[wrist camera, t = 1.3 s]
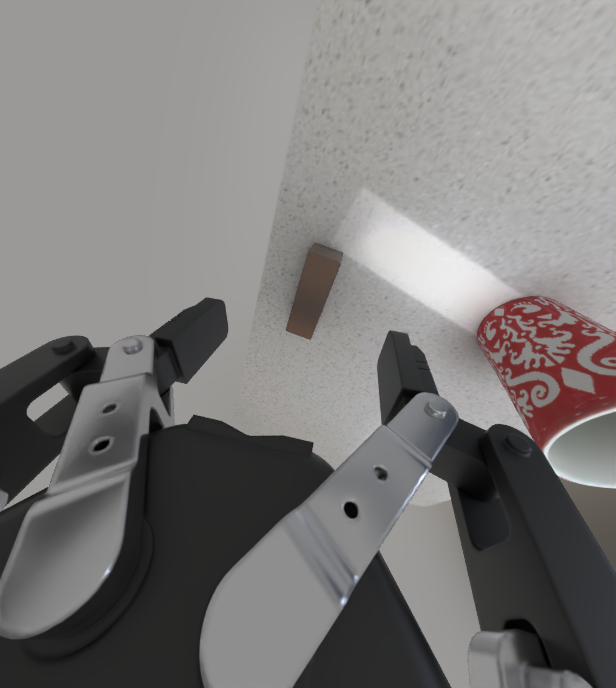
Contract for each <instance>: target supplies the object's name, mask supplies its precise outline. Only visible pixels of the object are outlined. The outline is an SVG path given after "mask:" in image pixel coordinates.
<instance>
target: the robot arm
mask: <svg viewBox="0 0 616 688" xmlns="http://www.w3.org/2000/svg"><path fill="white" fill-rule="evenodd" d="M227 333H228V323H227V315H226V308H225V304H224V302H223V301H222V300H219V299H213V298H205V299H203V300H202V301H201V302H199V303H198V304H197V305H195V306H192V307H190V308H188V309H185V310H183V311H182V312H181V313H179V314H178V315H177V316H175V317H174V318H172V319H171V321H168V322H167V323H165V324H164V325H163V326H161V327H160V328H159V329H157V330H156V331H155V332H153V333H152V334H150V335H149V336H145V335H137V336H130V337H126V338H124V339H121V340H119V341H117V342H116V343H114V344H113V345H112V346H111V347H100V348H99V347H97V348H93V346H92V345H91V343H90V342H89V340H88V338H86V337H84V336H67V337H62V338H59V339H56V340H53V341H50V342H48V343H46V344H45V345H43V346H41V347H39V348H37V349H35V350H34V351H32V352H30V353H28V354H27V355H25V356H23V357H21V358H19V359H17V360H16V361H14V362H12V363H10V364H9V365H7V366H5V367H3V368H1V369H0V688H451V686H450V684H449V682H448V680H447V679H446V677H445V675H444V673H443V671H442V669H441V667H440V665H439V663H438V661H437V659H436V658H435V656H434V654H433V652H432V650H431V648H430V646H429V644H428V642H427V641H426V638H425V637H424V635H423V633H422V631H421V629H420V627H419V625H418V623H417V621H416V620H415V618H414V616H413V614H412V612H411V610H410V608H409V606H408V604H407V602H406V600H405V599H404V597H403V595H402V593H401V591H400V589H399V587H398V585H397V583H396V581H395V580H394V578H393V576H392V574H391V572H390V570H389V568H388V566H387V564H386V562H385V561H384V559H383V557H382V555H381V553H380V551H379V548H380V547H381V545H382V544H383V542H384V540H385V539H386V537H387V536H388V534H389V533H390V531H391V530H392V528H393V527H394V525H395V523H396V522H397V520H398V519H399V517H400V516H401V514H402V513H403V511H404V509H405V508H406V506H407V505H408V503H409V502H410V500H411V499H412V497H413V496H414V494H415V493H416V491H417V489H418V488H419V486H420V485H421V483H422V482H423V480H424V479H425V477H426V476H427V474H428V472H430V473H432V474H434V475H436V476H437V477H439V478H441V479H443V480H445V481H446V482H447V483H448V487H449V492H450V496H451V501H452V505H453V509H454V514H455V518H456V523H457V527H458V531H459V536H460V540H461V545H462V549H463V554H464V558H465V562H466V566H467V571H468V576H469V580H470V584H471V589H472V593H473V598H474V602H475V606H476V611H477V616H478V620H479V624H480V628H481V631H480V632H478V633H476V634H475V635H474V636H473V637H472V639H471V641H470V644H469V648H468V670H469V688H616V572H615V570H614V569H613V567H612V565H611V564H610V562H609V560H608V559H607V557H606V555H605V554H604V552H603V551H602V549H601V547H600V545H599V544H598V542H597V541H596V539H595V537H594V536H593V534H592V532H591V531H590V529H589V527H588V526H587V524H586V522H585V521H584V519H583V517H582V516H581V514H580V513H579V511H578V509H577V507H576V506H575V504H574V503H573V501H572V499H571V498H570V496H569V494H568V493H567V491H566V489H565V488H564V486H563V484H562V483H561V481H560V480H559V478H558V476H557V474H556V473H555V471H554V469H553V468H552V466H551V465H550V463H549V461H548V460H547V458H546V456H545V455H544V453H543V451H542V450H541V449H540V447H539V446H538V445H537V444H536V443H535V442H534V441H533V440H532V439H531V438H529V437H528V436H527V435H525V434H524V433H522V432H521V431H519V430H517V429H515V428H513V427H511V426H507V425H503V424H495V425H492V426H491V427H490V428H489V429H488V430H487V431H486V430H484V429H481V428H479V427H477V426H475V425H473V424H470V423H468V422H466V421H464V420H462V419H460V418H459V416H458V413H457V411H456V409H455V408H454V407H453V406H452V405H451V404H450V403H449V402H448V401H447V400H445V399H444V398H442V397H440V396H439V394H438V391H437V388H436V385H435V382H434V380H433V377H432V374H431V372H430V369H429V366H428V364H427V360H426V357H425V355H424V353H423V352H422V351H421V350H420V349H419V348H418V347H417V346H413V345H411V344H410V340H409V337H408V334H407V333H402V332H397V331H391V330H390V331H389V332H388V334H387V337H386V340H385V342H384V345H383V348H382V350H381V353H380V356H379V359H378V365H377V372H378V384H379V396H380V409H381V421H382V425H381V426H380V427H379V428H378V429H377V430H376V431H375V432H374V433H373V434H372V435H371V436H370V437H369V438H368V439H367V440H366V441H365V442H364V443H363V444H361V445H360V446H359V447H358V448H357V449H356V450H355V451H354V452H353V453H352V454H351V455H350V456H349V457H348V458H347V459H346V460H345V461H344V462H343V463H342V464H341V465H340V466H339V467H338V468H337V469H336V470H334V469H333V468H332V467H331V465H329V464H328V463H327V462H326V461H325V460H324V459H322V458H321V457H319V456H318V455H316V454H314V453H313V452H312V448H313V442H309V441H304V440H300V439H296V438H292V437H287V436H283V435H282V436H249V435H246V434H244V433H242V432H240V431H239V430H237V429H235V428H233V427H232V426H230V425H228V424H226V423H224V422H222V421H219V420H215V419H210V418H205V417H201V416H197V415H193V417H192V418H191V419H190V421H189V422H188V424H181V425H175V423H174V397H173V388H172V384H173V383H174V382H175V381H176V382H181V383H185V384H187V383H188V382H189V381H190V379H191V378H192V377H193V376H194V374H196V372H197V371H198V370H199V369H200V368H201V367H202V365H203V364H204V363H205V362H206V361H207V360H208V358H209V357H210V356H211V355H212V354H213V352H214V351H215V350H216V349H217V348H218V347H219V346H220V344H221V343H222V342H223V341H224V340H225V338H226V337H227ZM57 383H60V384H61V385H62V386H63V388H64V389H65V390H66V391H67V392H68V394H69V395H67V396H66V397H65V398H63V399H62V400H61V401H60V402H58V403H57V404H56V405H54V406H53V407H52V408H51V409H49V410H48V411H47V412H46V413H44V414H43V415H42V416H40V417H39V418H38V419H37V420H35V421H34V422H33V421H32V420H31V419H30V418H29V417H28V416H27V408H28V406H29V405H30V403H31V402H32V401H33V400H35V399H36V398H38V397H39V396H40V395H42V394H43V393H45V392H46V391H47V390H49V389H50V388H52V387H53V386H54V385H56V384H57ZM59 454H60V456H59V459H58V462H57V465H56V467H55V470H54V473H53V476H52V479H51V482H50V485H49V487H47V488H45V489H43V490H41V491H39V492H38V493H36V494H34V495H32V496H30V497H28V498H26V499H24V500H23V501H20V502H18V503H16V504H15V505H13V506H11V507H9V508H7V509H5V510H3V508H4V507H5V506H6V505H7V504H8V503H9V502H10V501H11V500H12V499H13V498H14V497H15V496H17V494H18V493H20V492H21V491H22V490H23V489H24V488H25V487H26V486H27V485H28V484H29V483H30V482H31V481H32V480H33V479H34V478H35V477H36V476H37V475H38V474H39V473H40V472H41V471H42V470H43V469H44V468H45V467H46V466H48V465H49V463H51V462H52V461H53V460H54V459H55V458H56V457H57V456H58V455H59ZM2 510H3V511H2Z"/></svg>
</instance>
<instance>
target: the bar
mask: <svg viewBox="0 0 616 688" xmlns="http://www.w3.org/2000/svg"><path fill="white" fill-rule="evenodd" d="M342 256H343V253H341V252H339V251H336V250H333V249H331V248H328V247H325V246H323V245H320V244H317V243H315V244H314V245H313V246H312V248H311V249H310V251H309V252H308V255H307V259H306V262H305V266H304V269H303V273H302V276H301V279H300V283H299V286H298V290H297V293H296V297H295V300H294V303H293V307H292V310H291V314H290V317H289V321H288V324H287V327H286V331H288V332H290V333H293V334H296V335H299V336H301V337H304V338H307V339H310V340H311V338H312V335H313V333H314V330H315V328H316V325H317V323H318V320H319V317H320V315H321V312H322V310H323V307H324V305H325V302H326V300H327V297H328V295H329V292H330V289H331V287H332V284H333V282H334V279H335V277H336V274H337V272H338V269H339V267H340V264H341V260H342Z"/></svg>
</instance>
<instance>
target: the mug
mask: <svg viewBox="0 0 616 688" xmlns="http://www.w3.org/2000/svg"><path fill="white" fill-rule="evenodd" d="M477 333H478V335H477V337H478V342H479V345H480V347H481V349H482V350H483V352H484V354H485V355H486V357H487V359H488V360H489V362H490V364H491V365H492V367H493V369H494V371H495V372H496V374H497V376H498V378H499V379H500V381H501V383H502V385H503V387H504V388H505V390H506V392H507V394H508V395H509V397H510V399H511V401H512V402H513V404H514V406H515V408H516V410H517V412H518V413H519V415H520V417H521V419H522V421H523V423H524V424H525V426H526V428H527V429H528V431H529V433H530V435H531V436H532V438H533V440H534V442H535V443H536V444H537V445H538V446H539V447H540V449H541V450H542V451H543V453H544V455H545V456H546V458H547V460H548V461H549V463H550V465H551V466H552V468H553V469H554V471H555V473H556V474H557V476H559V477H561V478H563V479H566V480H569V481H572V482H575V483H579V484H584V485H589V486H595V487H604V488H616V332H615V331H612V330H610V329H608V328H606V327H604V326H603V325H601V324H599V323H597V322H595V321H593V320H591V319H589V318H587V317H585V316H584V315H582V314H580V313H578V312H576V311H574V310H572V309H570V308H569V307H567V306H565V305H563V304H561V303H559V302H557V301H555V300H552V299H549V298H545V297H526V298H520V299H517V300H513V301H510V302H508V303H506V304H504V305H502V306H500V307H498V308H496V309H495V310H494V311H492V312H491V313H490V314H489V315H488V316H487V317H486V318H485V319H484V320H483V321H482V323H481V325H480V327H479V329H478V332H477Z"/></svg>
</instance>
